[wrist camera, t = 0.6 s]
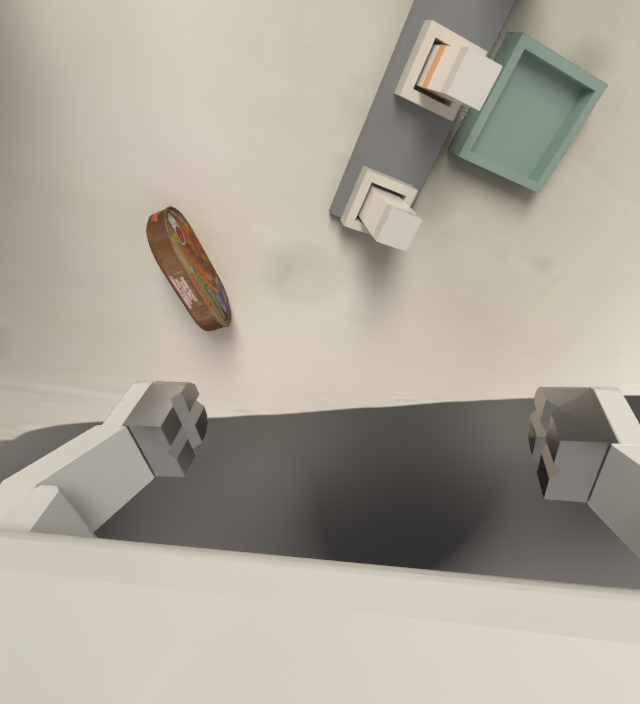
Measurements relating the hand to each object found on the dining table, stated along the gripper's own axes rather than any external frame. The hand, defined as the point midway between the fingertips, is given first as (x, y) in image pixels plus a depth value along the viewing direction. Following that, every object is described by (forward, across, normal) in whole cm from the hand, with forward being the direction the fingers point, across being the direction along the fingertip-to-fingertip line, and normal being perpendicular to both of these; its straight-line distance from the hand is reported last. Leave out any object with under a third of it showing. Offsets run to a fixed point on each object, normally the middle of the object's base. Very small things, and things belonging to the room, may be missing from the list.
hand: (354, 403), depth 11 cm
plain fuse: (+44, +3, +10) cm, 46 cm away
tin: (+39, +25, +14) cm, 48 cm away
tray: (+51, -13, +4) cm, 53 cm away
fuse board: (+48, -3, -2) cm, 48 cm away
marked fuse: (+47, -4, -2) cm, 47 cm away
